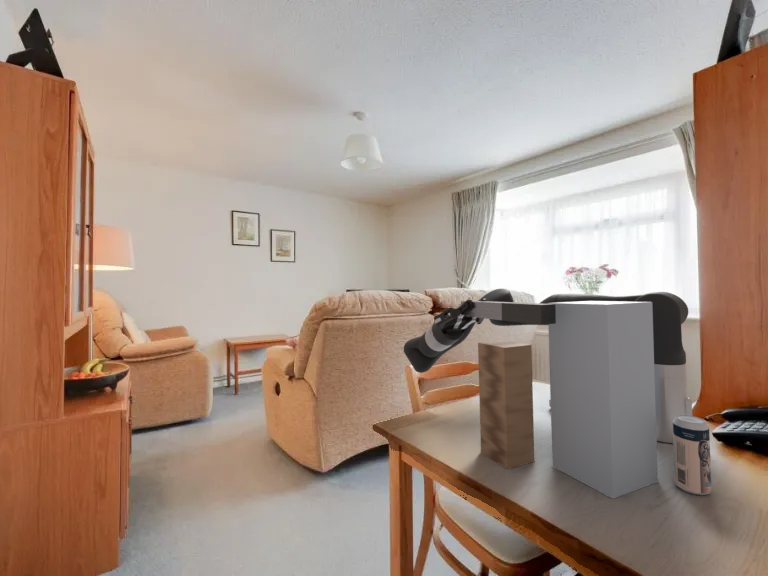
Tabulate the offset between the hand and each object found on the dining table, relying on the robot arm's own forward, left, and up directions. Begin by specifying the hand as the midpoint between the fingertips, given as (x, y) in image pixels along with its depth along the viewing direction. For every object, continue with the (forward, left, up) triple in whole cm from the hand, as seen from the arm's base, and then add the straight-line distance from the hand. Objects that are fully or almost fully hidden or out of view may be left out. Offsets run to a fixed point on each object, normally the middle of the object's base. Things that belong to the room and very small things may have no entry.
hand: (478, 302), depth 81 cm
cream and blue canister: (-35, +11, -32) cm, 49 cm away
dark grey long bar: (-5, +6, -3) cm, 8 cm away
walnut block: (-5, +6, -32) cm, 33 cm away
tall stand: (-22, +9, -32) cm, 40 cm away
